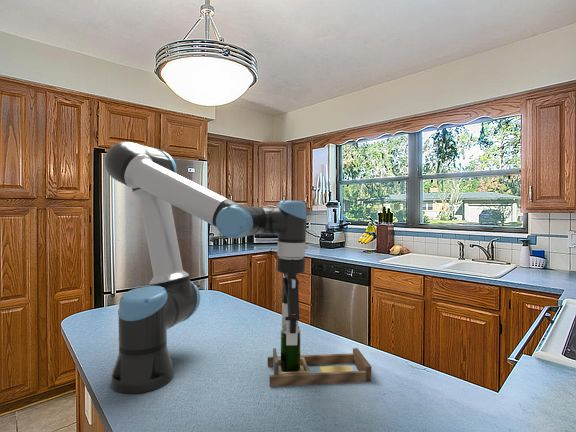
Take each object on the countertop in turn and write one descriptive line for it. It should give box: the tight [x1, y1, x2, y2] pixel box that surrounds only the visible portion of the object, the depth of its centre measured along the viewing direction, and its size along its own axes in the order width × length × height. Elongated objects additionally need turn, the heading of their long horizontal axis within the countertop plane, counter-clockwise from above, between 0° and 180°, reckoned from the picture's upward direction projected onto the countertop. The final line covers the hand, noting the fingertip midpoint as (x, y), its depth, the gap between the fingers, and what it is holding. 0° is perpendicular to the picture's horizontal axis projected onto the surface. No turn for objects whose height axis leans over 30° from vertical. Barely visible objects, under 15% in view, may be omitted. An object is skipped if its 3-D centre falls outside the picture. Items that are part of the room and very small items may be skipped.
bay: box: [266, 347, 372, 388], centre depth 94 cm, size 27×12×4 cm, turn 96°
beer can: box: [280, 325, 301, 372], centre depth 94 cm, size 5×5×12 cm
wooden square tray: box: [272, 347, 310, 375], centre depth 94 cm, size 9×9×5 cm
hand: (288, 334), depth 94 cm, fingers open, 13 cm apart
